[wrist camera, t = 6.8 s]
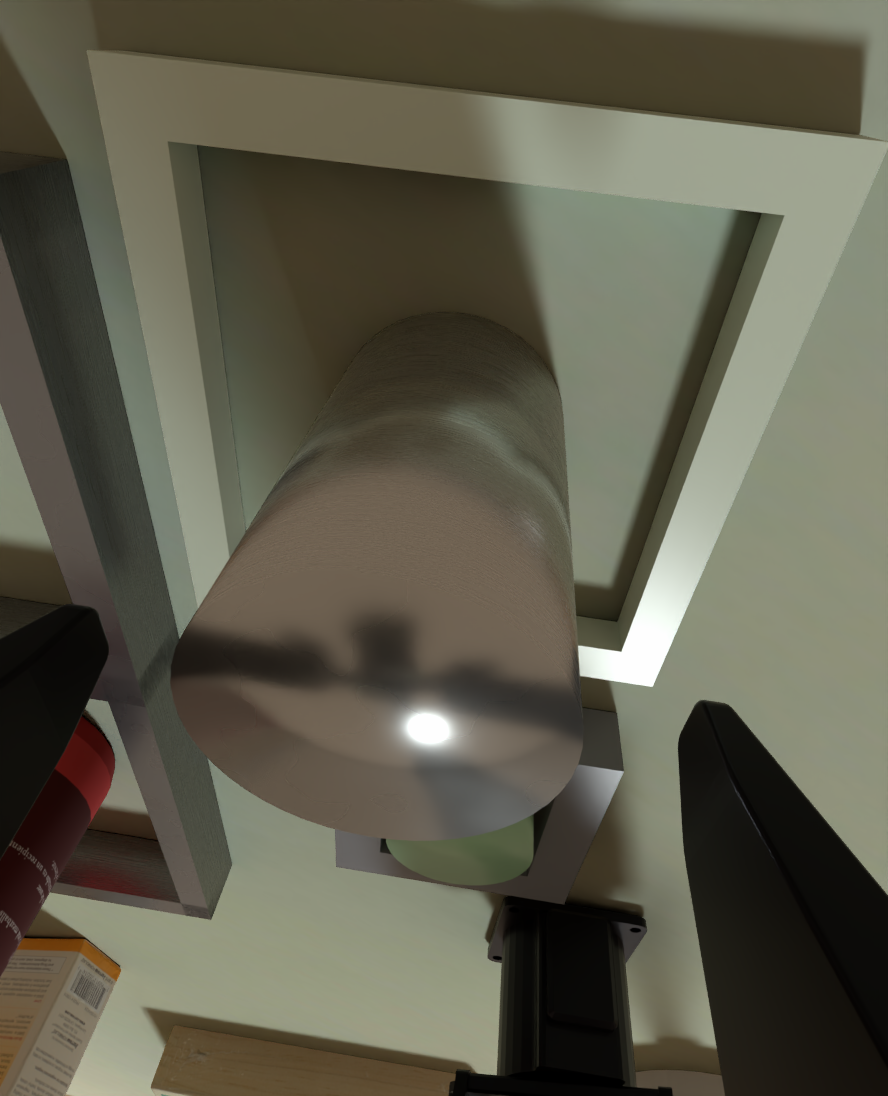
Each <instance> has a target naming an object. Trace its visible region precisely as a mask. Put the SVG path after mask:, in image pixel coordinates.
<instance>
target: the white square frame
mask: <svg viewBox="0 0 888 1096" xmlns="http://www.w3.org/2000/svg"><path fill="white" fill-rule="evenodd" d="M86 51H87V56H88V61H89V66H90V71H91V76H92V81H93V86H94V91H95V96H96V101H97V106H98V111H99V116H100V121H101V126H102V131H103V136H104V141H105V146H106V151H107V156H108V161H109V166H110V171H111V176H112V181H113V186H114V191H115V196H116V201H117V206H118V211H119V216H120V221H121V226H122V231H123V236H124V241H125V246H126V251H127V256H128V261H129V266H130V271H131V276H132V281H133V286H134V291H135V296H136V301H137V306H138V311H139V316H140V321H141V326H142V331H143V336H144V341H145V346H146V351H147V356H148V361H149V366H150V371H151V376H152V381H153V386H154V391H155V396H156V401H157V406H158V411H159V416H160V421H161V426H162V431H163V436H164V441H165V446H166V451H167V456H168V461H169V466H170V471H171V476H172V481H173V486H174V491H175V496H176V501H177V506H178V511H179V516H180V521H181V526H182V531H183V536H184V541H185V546H186V551H187V556H188V561H189V566H190V571H191V576H192V581H193V586H194V591H195V596H196V601H197V606H198V608H199V606H200V605H201V603H202V602H203V600H204V598H205V597H206V595H207V594H208V592H209V590H210V589H211V587H212V586H213V584H214V582H215V581H216V579H217V577H218V576H219V574H220V573H221V571H222V569H223V568H224V566H225V565H226V563H227V561H228V560H229V558H230V557H231V555H232V553H233V552H234V550H235V549H236V547H237V545H238V544H239V542H240V541H241V539H242V537H243V536H244V534H245V532H246V531H245V523H244V515H243V508H242V500H241V492H240V484H239V476H238V468H237V460H236V452H235V444H234V436H233V428H232V420H231V412H230V404H229V396H228V388H227V380H226V372H225V364H224V356H223V348H222V340H221V332H220V324H219V316H218V308H217V300H216V292H215V284H214V277H213V269H212V261H211V253H210V245H209V237H208V229H207V221H206V213H205V205H204V197H203V189H202V181H201V173H200V165H199V157H198V149H197V145H203V146H211V147H219V148H228V149H236V150H244V151H253V152H261V153H269V154H278V155H286V156H294V157H303V158H311V159H319V160H328V161H336V162H344V163H352V164H361V165H369V166H377V167H386V168H394V169H402V170H411V171H419V172H427V173H436V174H444V175H452V176H461V177H469V178H477V179H486V180H494V181H502V182H511V183H519V184H527V185H536V186H544V187H552V188H561V189H569V190H577V191H586V192H594V193H602V194H610V195H619V196H627V197H635V198H644V199H652V200H660V201H669V202H677V203H685V204H694V205H702V206H710V207H719V208H727V209H735V210H744V211H752V212H760V213H762V214H761V217H760V220H759V223H758V226H757V228H756V231H755V234H754V237H753V240H752V243H751V245H750V248H749V251H748V254H747V257H746V260H745V262H744V265H743V268H742V271H741V274H740V277H739V279H738V282H737V285H736V288H735V291H734V294H733V296H732V299H731V302H730V305H729V308H728V311H727V313H726V316H725V319H724V322H723V325H722V327H721V330H720V333H719V336H718V339H717V342H716V344H715V347H714V350H713V353H712V356H711V359H710V361H709V364H708V367H707V370H706V373H705V376H704V378H703V381H702V384H701V387H700V390H699V393H698V395H697V398H696V401H695V404H694V407H693V410H692V412H691V415H690V418H689V421H688V424H687V427H686V429H685V432H684V435H683V438H682V441H681V443H680V446H679V449H678V452H677V455H676V458H675V460H674V463H673V466H672V469H671V472H670V475H669V477H668V480H667V483H666V486H665V489H664V492H663V494H662V497H661V500H660V503H659V506H658V509H657V511H656V514H655V517H654V520H653V523H652V526H651V528H650V531H649V534H648V537H647V540H646V542H645V545H644V548H643V551H642V554H641V557H640V559H639V562H638V565H637V568H636V571H635V574H634V576H633V579H632V582H631V585H630V588H629V591H628V593H627V596H626V599H625V602H624V605H623V608H622V610H621V613H620V616H619V619H618V622H614V621H607V620H600V619H594V618H587V617H580V616H576V621H577V637H578V653H579V668H580V676H585V677H591V678H598V679H605V680H611V681H618V682H625V683H631V684H638V685H645V686H651V687H652V686H653V684H654V682H655V680H656V677H657V675H658V673H659V670H660V668H661V666H662V664H663V661H664V659H665V657H666V654H667V652H668V650H669V648H670V645H671V643H672V641H673V638H674V636H675V634H676V632H677V629H678V627H679V625H680V622H681V620H682V618H683V616H684V613H685V611H686V609H687V606H688V604H689V602H690V600H691V597H692V595H693V593H694V590H695V588H696V586H697V584H698V581H699V579H700V577H701V574H702V572H703V570H704V568H705V565H706V563H707V561H708V558H709V556H710V554H711V552H712V549H713V547H714V545H715V542H716V540H717V538H718V536H719V533H720V531H721V529H722V526H723V524H724V522H725V520H726V517H727V515H728V513H729V510H730V508H731V506H732V504H733V501H734V499H735V497H736V494H737V492H738V490H739V488H740V485H741V483H742V481H743V478H744V476H745V474H746V472H747V469H748V467H749V465H750V462H751V460H752V458H753V456H754V453H755V451H756V449H757V446H758V444H759V442H760V440H761V437H762V435H763V433H764V430H765V428H766V426H767V424H768V421H769V419H770V417H771V414H772V412H773V410H774V408H775V405H776V403H777V401H778V398H779V396H780V394H781V392H782V389H783V387H784V385H785V382H786V380H787V378H788V376H789V373H790V371H791V369H792V366H793V364H794V362H795V360H796V357H797V355H798V353H799V350H800V348H801V346H802V344H803V341H804V339H805V337H806V334H807V332H808V330H809V328H810V325H811V323H812V321H813V318H814V316H815V314H816V312H817V309H818V307H819V305H820V302H821V300H822V298H823V296H824V293H825V291H826V289H827V286H828V284H829V282H830V280H831V277H832V275H833V273H834V270H835V268H836V266H837V264H838V261H839V259H840V257H841V255H842V252H843V250H844V248H845V245H846V243H847V241H848V239H849V236H850V234H851V232H852V229H853V227H854V225H855V223H856V220H857V218H858V216H859V213H860V211H861V209H862V207H863V204H864V202H865V200H866V197H867V195H868V193H869V191H870V188H871V186H872V184H873V181H874V179H875V177H876V175H877V172H878V170H879V168H880V165H881V163H882V161H883V159H884V156H885V154H886V152H887V149H888V142H887V141H883V140H879V139H875V138H871V137H866V136H862V135H855V134H846V133H837V132H828V131H820V130H811V129H802V128H794V127H785V126H776V125H767V124H759V123H750V122H741V121H732V120H724V119H715V118H706V117H698V116H689V115H680V114H671V113H663V112H654V111H645V110H637V109H628V108H619V107H610V106H602V105H593V104H584V103H575V102H567V101H558V100H549V99H541V98H532V97H523V96H514V95H506V94H497V93H488V92H479V91H471V90H462V89H453V88H445V87H436V86H427V85H418V84H410V83H401V82H392V81H384V80H375V79H366V78H357V77H349V76H340V75H331V74H322V73H314V72H305V71H296V70H288V69H279V68H270V67H261V66H253V65H244V64H235V63H227V62H218V61H209V60H200V59H192V58H183V57H174V56H165V55H157V54H148V53H139V52H131V51H117V50H86Z"/></svg>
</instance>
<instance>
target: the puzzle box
mask: <svg viewBox="0 0 888 1096" xmlns="http://www.w3.org/2000/svg"><path fill="white" fill-rule="evenodd" d="M455 1077H456V1074H454V1073H448V1072H442V1071H436V1070H431V1069H425V1068H419V1067H413V1066H408V1065H402V1064H396V1063H390V1062H384V1061H378V1060H373V1059H367V1058H361V1057H355V1056H349V1055H344V1054H338V1053H332V1052H326V1051H321V1050H315V1049H309V1048H303V1047H297V1046H292V1045H286V1044H280V1043H275V1042H269V1041H263V1040H257V1039H251V1038H246V1037H240V1036H234V1035H228V1034H223V1033H217V1032H211V1031H205V1030H200V1029H194V1028H188V1027H182V1026H176V1025H174V1027H173V1029H172V1031H171V1034H170V1036H169V1039H168V1041H167V1044H166V1046H165V1049H164V1052H163V1054H162V1057H161V1060H160V1062H159V1065H158V1068H157V1071H156V1073H155V1076H154V1079H153V1082H152V1084H151V1089H152V1090H153V1092H154V1094H155V1095H156V1096H449V1085H450V1082H452V1081H455Z"/></svg>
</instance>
